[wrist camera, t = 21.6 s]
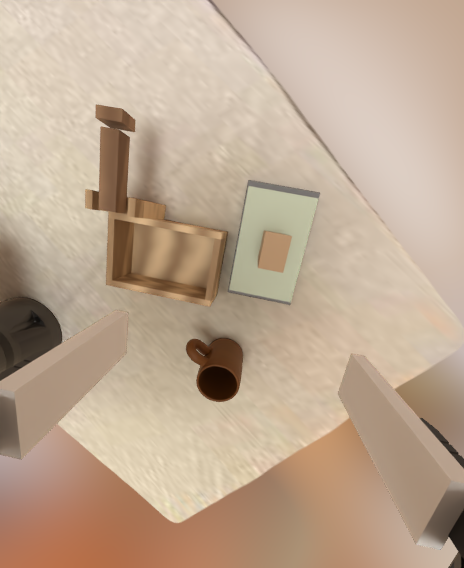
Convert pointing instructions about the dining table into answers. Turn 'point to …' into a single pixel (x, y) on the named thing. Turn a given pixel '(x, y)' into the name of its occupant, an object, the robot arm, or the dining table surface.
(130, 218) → the toolbox
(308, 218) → the lid
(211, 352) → the mug
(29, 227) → the dining table surface
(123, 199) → the bar
